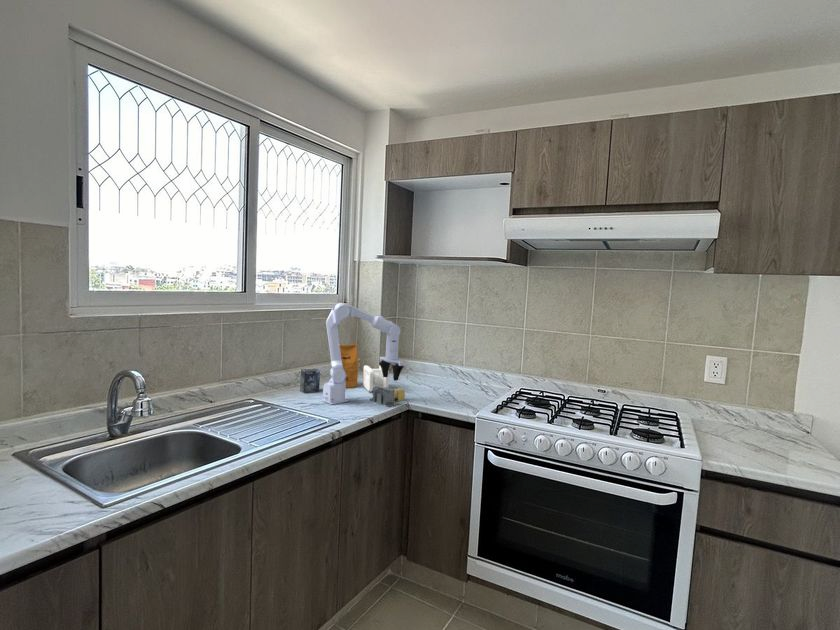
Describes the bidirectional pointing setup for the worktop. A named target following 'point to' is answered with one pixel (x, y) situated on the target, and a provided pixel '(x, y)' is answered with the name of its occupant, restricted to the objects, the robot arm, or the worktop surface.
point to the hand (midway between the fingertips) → (390, 378)
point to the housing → (388, 396)
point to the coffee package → (350, 364)
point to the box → (310, 380)
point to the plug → (398, 396)
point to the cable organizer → (374, 378)
